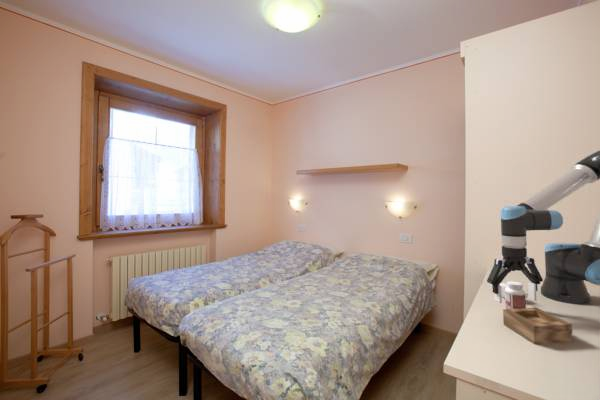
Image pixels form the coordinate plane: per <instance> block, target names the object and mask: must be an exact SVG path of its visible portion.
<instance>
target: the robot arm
mask: <svg viewBox="0 0 600 400" xmlns="http://www.w3.org/2000/svg"><path fill="white" fill-rule="evenodd" d="M599 180H600V150H597V151H595V152H593V153H592V154H589V155H587V156H586V157H584V158H582V159H580V161H578V162H576V163H575V164H573V165H571V167H570V170H569V171H567V172H566V173H564V174H562V175H561V176H560V177H558V178H557V179H555V180H553V181H552V182H551V183H549V184H548V185H546V186H544V187H543V188H542V189H540V190H538V191H537V192H536V193H534V194H533V195H531V196H529V197H528V198H526V199H525V200H523V201H522V202H521V203H519V204H517V205H513V206H512V205H508V206H502V207H501V209H500V218H499V219H500V225H501V227H500V228H501V230H500V232H501V245H502V246H501V256H502V257H503V258H502V259H499V258H494V263H493V266H492V268H491V271H490V273H489V275H488V277H487V279H486V282H487V283H489V284H491V285H492V293H493V294H494V298H493V300H494V301H495V302H497V303H499V304H502V303H503V301H502V300H503V299H502V294H501V286H500V285H499V284H500V283H503V280H505V278H506V276H508V274H509V273H511V272H515V271H519V272H520V271H521V273H522V274H523V275H524V276H525V277H526V278H527V279H528V280H529V281H528V282H527V292H528V293H527V294H528V296H527V298H528V299H529V300H532V301H534V302H537V292H538V285H540V284H541V282H543V283H542V285H541V286H540V294H541V295H542V296H543V297H546V298H548V299H551V300H555V301H558V302H563V303H568V304H578V305H581V304H582V305H583V304H585V305H586V304H589V303H591V300H592V298H591V294H590V293H589V292H588V288H587V285H586V283H585V282H588V283H590V284H593V285H596V286H600V211H599V212H598V215H597V218H596V221H595V223H594V226H593V229H592V232H591V235H590V237H589V240H588V241H584V242H582V243H575V242H574V243H573V242H572V243H570V242H554V243H553V242H550V243H547V244H546V245H545V248H544V261H545V262H544V264H545V267H544V268H545V277H544V279H543V276H542V274H541V273H540V272H539V271H540V270H538V268H537V265H536V263H535V258H533V257H529V256H528V255H527V254H528V251H527V248H526V247H527V232H529V231H552V230H553V231H554V230H559V229H560V228H561V227H562V226H563V224H564V217H563V215H562V213H560V212H559V211H558V210H554V209H553V210H552V209H549V208H551V207H553V206H555V205H556V204H557V203H559V202H561V201H562V200H564V199H565V198H567V197H569V196H570V195H571V194H573V193H576V191H578V190H579V189H581V188H582V187H584V186H585V185H587V184H593V183H595V182H597V181H599ZM526 265H527V266H526Z"/></svg>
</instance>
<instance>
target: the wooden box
mask: <svg viewBox="0 0 600 400" xmlns="http://www.w3.org/2000/svg"><path fill="white" fill-rule="evenodd" d="M502 313H503V314H502V315H503V316H502V317H503V326H505V327H507V328H508V329H510V330H511V331H513V332H514V333H516V334H518V335H520V336H521V338H523V339H526V340H527V341H529V342H530V343H532V344H533V345H539V344H541V345H542V344H555V343H572V342H573V325H572V323H570V322H568V321H566V320H564V319H562V318H560V317H558V316H555V315H553V314H551V313H549V312H547V311H545V310H543V309H541V308H539V307H526V308H518V309H506V308H504V309H502Z"/></svg>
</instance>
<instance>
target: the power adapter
mask: <svg viewBox="0 0 600 400" xmlns="http://www.w3.org/2000/svg"><path fill="white" fill-rule="evenodd" d="M499 285H500V286H501V294H502V297H503V299H505V289H506V288H507V287H508V286H507V282H506V283H505V282H501V283H500V284H499ZM527 298H528V293H525V299H527Z"/></svg>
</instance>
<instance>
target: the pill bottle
mask: <svg viewBox="0 0 600 400" xmlns="http://www.w3.org/2000/svg"><path fill="white" fill-rule="evenodd" d="M506 283H507V286H508V287H507V288H506V289H505V298H504V299H505V309H518V308H527V304H526V299H527V298H526V297H525V296H526V295H525V294H526V291H525V290H524V289H523V287H524V286H523V285H524V284H523V283H521V282H519V281H507V282H506Z"/></svg>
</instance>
